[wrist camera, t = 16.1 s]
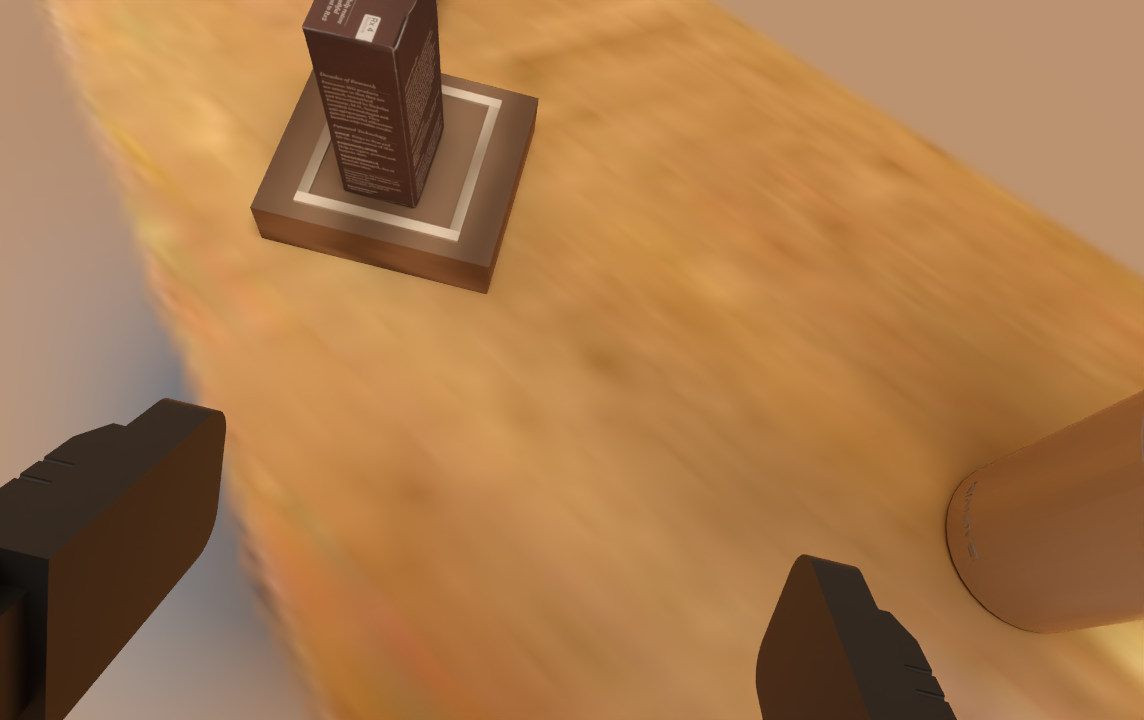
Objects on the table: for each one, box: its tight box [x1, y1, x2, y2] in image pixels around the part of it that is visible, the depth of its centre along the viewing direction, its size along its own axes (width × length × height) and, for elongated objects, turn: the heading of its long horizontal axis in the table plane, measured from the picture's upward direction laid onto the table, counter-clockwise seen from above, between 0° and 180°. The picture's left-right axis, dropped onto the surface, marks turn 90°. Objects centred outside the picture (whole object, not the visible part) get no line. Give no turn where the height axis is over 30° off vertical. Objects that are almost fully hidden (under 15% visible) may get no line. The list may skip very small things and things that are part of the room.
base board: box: [250, 69, 539, 294], centre depth 48 cm, size 13×12×3 cm
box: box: [302, 0, 444, 207], centre depth 41 cm, size 6×4×12 cm
